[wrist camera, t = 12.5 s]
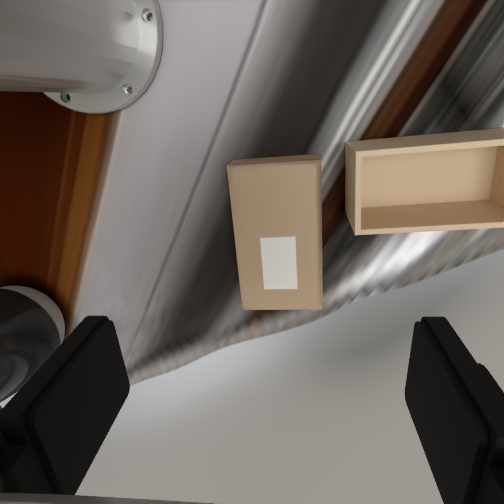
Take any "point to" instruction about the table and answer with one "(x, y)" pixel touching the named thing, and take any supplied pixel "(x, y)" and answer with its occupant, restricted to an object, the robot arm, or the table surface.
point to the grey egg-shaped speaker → (26, 335)
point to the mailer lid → (278, 231)
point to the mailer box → (425, 182)
